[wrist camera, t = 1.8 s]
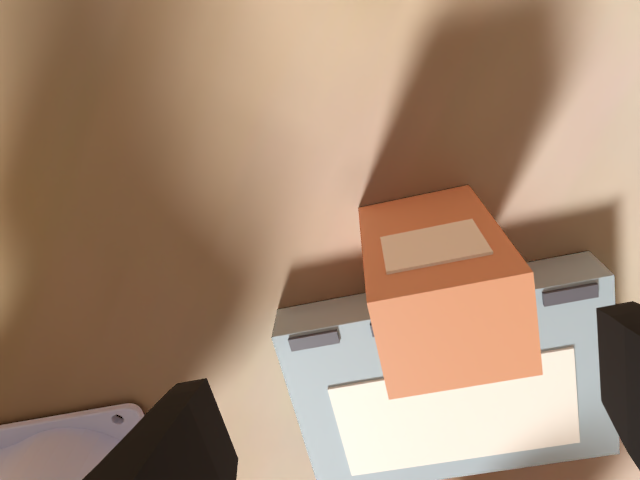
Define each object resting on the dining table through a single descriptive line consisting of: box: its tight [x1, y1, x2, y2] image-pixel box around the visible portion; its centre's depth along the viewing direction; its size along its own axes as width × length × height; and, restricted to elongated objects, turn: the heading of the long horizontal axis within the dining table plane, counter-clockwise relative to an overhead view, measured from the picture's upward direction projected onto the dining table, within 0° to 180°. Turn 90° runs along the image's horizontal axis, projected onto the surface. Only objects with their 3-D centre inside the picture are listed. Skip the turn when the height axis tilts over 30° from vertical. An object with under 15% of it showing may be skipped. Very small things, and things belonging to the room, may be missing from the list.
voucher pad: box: [271, 251, 620, 480], centre depth 21 cm, size 12×8×2 cm, turn 103°
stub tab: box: [358, 185, 543, 400], centre depth 17 cm, size 4×3×7 cm
